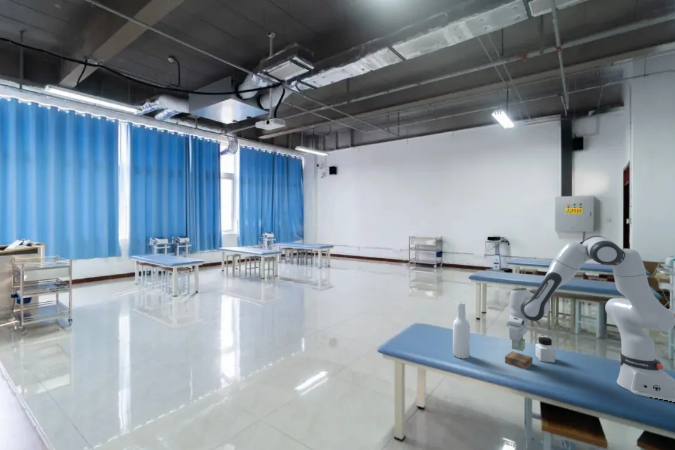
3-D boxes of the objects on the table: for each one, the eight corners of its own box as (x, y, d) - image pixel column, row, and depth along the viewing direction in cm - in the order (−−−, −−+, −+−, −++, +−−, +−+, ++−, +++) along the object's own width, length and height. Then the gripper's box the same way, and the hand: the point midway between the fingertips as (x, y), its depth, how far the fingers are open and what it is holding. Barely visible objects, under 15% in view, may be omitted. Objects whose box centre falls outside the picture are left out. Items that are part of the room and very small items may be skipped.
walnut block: (532, 364, 169) (532, 357, 169) (525, 370, 162) (525, 362, 162) (512, 358, 176) (512, 351, 176) (505, 363, 170) (505, 356, 170)
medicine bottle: (555, 362, 170) (555, 340, 170) (540, 361, 172) (540, 339, 172) (549, 357, 177) (549, 335, 177) (535, 356, 179) (535, 334, 179)
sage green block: (525, 348, 169) (525, 339, 169) (522, 351, 166) (522, 341, 166) (514, 346, 173) (514, 336, 173) (511, 348, 169) (512, 339, 169)
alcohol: (467, 360, 172) (467, 305, 172) (450, 356, 177) (451, 303, 177) (471, 355, 180) (471, 302, 180) (454, 351, 185) (455, 300, 185)
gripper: (517, 313, 179) (517, 338, 179) (506, 321, 164) (506, 348, 164) (530, 316, 175) (530, 341, 174) (520, 324, 160) (520, 351, 160)
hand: (518, 344), depth 169 cm, fingers closed on sage green block, 5 cm apart
